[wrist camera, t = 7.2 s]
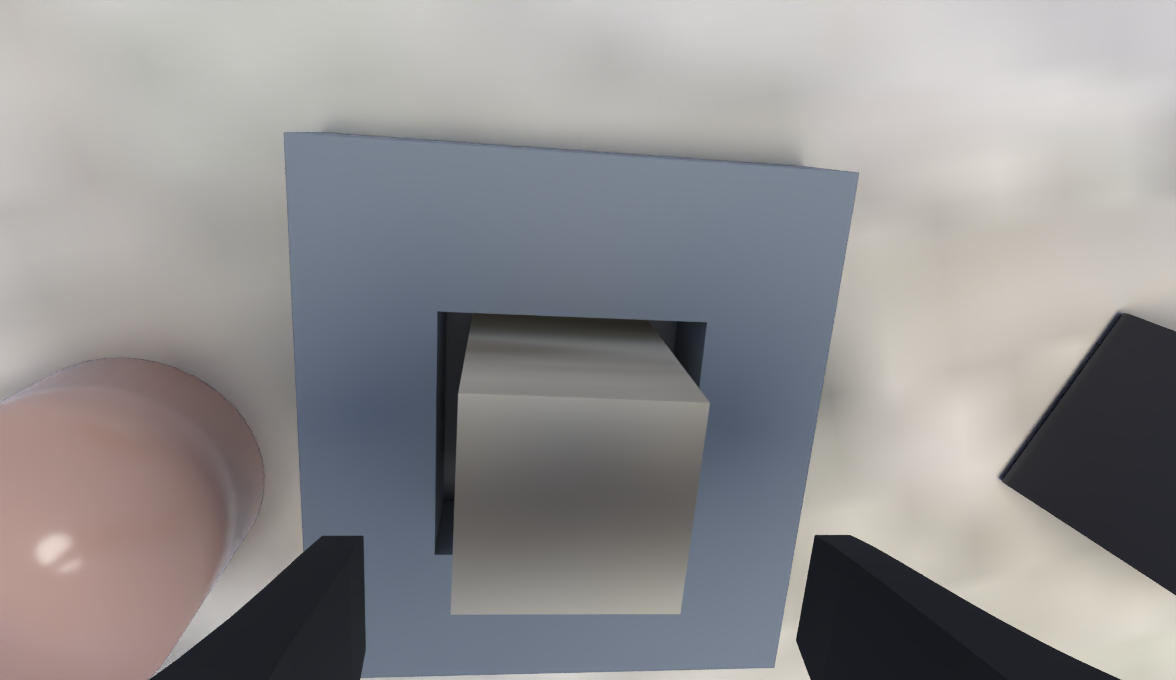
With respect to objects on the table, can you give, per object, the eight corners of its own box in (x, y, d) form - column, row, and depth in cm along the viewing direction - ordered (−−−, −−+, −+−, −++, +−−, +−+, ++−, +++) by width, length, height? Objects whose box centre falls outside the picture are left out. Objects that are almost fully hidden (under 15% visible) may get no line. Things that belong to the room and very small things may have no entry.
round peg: (271, 576, 20) (198, 715, 15) (24, 578, 19) (-136, 726, 14) (257, 360, 18) (169, 442, 13) (-16, 352, 17) (-213, 436, 13)
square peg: (629, 474, 20) (680, 614, 14) (466, 470, 19) (450, 614, 13) (647, 319, 18) (709, 402, 13) (473, 309, 18) (458, 393, 12)
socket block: (738, 597, 22) (774, 667, 19) (337, 601, 20) (309, 678, 17) (803, 166, 18) (859, 172, 15) (321, 132, 17) (283, 132, 14)
